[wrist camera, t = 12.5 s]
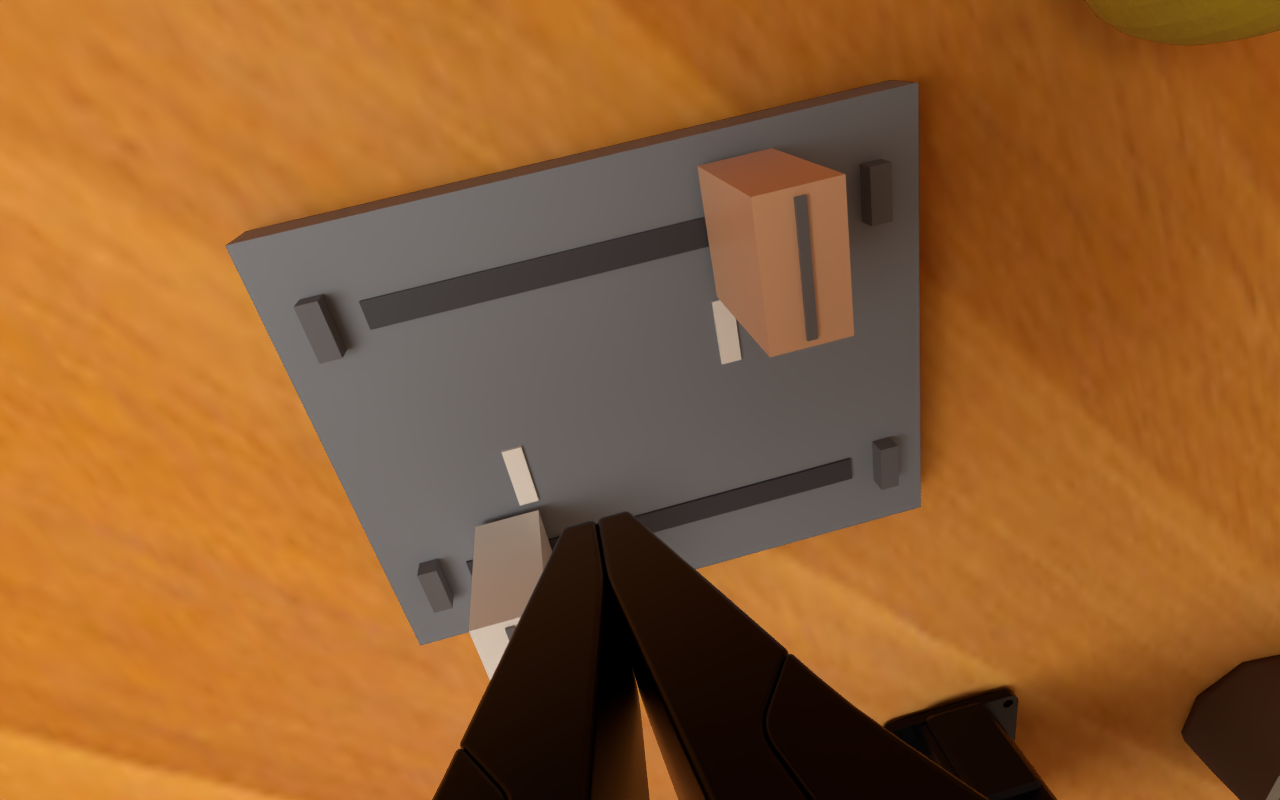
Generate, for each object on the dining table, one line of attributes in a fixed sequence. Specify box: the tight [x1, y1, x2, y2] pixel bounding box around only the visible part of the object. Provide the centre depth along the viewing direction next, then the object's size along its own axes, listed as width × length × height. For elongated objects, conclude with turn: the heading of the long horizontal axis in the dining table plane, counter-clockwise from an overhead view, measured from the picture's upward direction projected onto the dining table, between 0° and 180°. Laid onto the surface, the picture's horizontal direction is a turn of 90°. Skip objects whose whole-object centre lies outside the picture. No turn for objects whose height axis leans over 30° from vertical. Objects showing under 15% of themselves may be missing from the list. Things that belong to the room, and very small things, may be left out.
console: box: [225, 80, 921, 645], centre depth 21 cm, size 14×18×2 cm
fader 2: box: [697, 148, 854, 357], centre depth 17 cm, size 4×2×4 cm, turn 11°
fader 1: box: [469, 510, 552, 680], centre depth 20 cm, size 4×2×4 cm, turn 11°
